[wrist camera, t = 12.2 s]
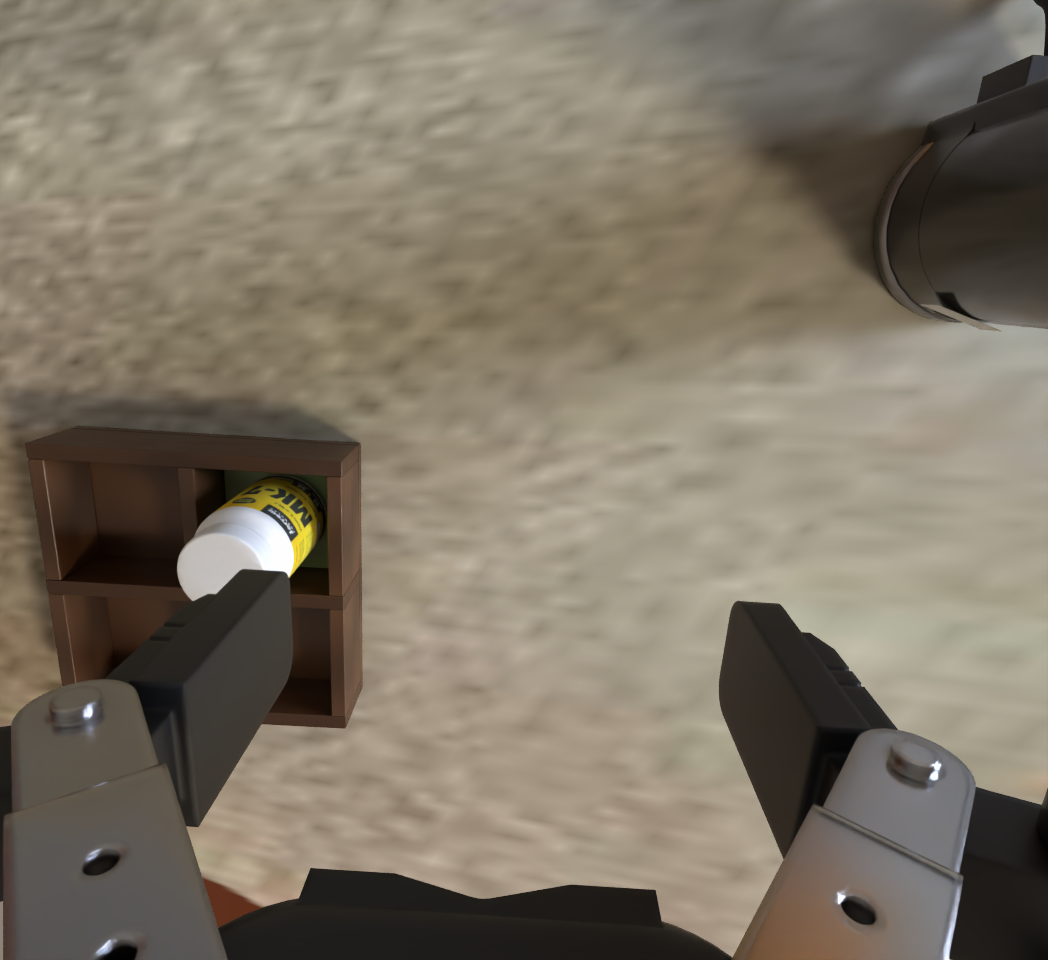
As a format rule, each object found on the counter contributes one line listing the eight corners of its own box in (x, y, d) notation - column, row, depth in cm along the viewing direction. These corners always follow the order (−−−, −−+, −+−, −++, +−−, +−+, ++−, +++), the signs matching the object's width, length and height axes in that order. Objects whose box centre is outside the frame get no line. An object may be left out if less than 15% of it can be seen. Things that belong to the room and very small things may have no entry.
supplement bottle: (342, 495, 37) (292, 555, 29) (310, 565, 39) (253, 640, 31) (261, 457, 37) (187, 507, 29) (231, 529, 38) (152, 596, 30)
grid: (77, 425, 37) (24, 442, 33) (360, 442, 37) (341, 461, 33) (109, 673, 42) (66, 714, 38) (362, 686, 42) (345, 728, 38)
